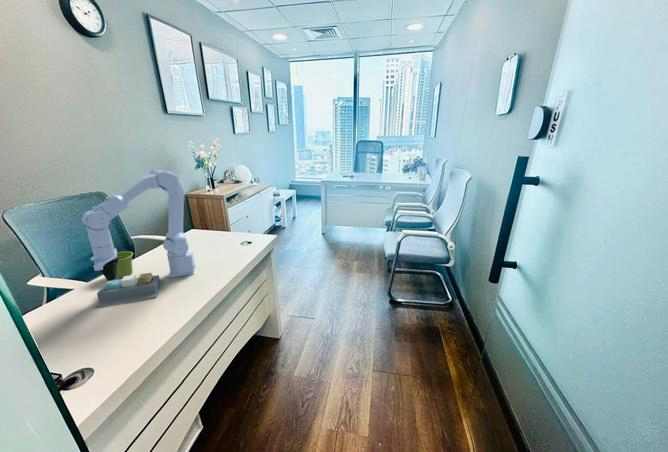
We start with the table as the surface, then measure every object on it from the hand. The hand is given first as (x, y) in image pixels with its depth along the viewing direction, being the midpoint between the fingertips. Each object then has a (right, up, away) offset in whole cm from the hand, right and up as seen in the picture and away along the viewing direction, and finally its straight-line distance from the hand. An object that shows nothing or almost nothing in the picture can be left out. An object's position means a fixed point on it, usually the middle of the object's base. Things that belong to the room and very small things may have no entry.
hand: (111, 279), depth 95 cm
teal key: (0, -5, +1) cm, 5 cm away
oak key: (+9, -3, +5) cm, 11 cm away
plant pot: (-9, -1, +17) cm, 19 cm away
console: (+4, -6, +4) cm, 8 cm away
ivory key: (+5, -3, +3) cm, 6 cm away
